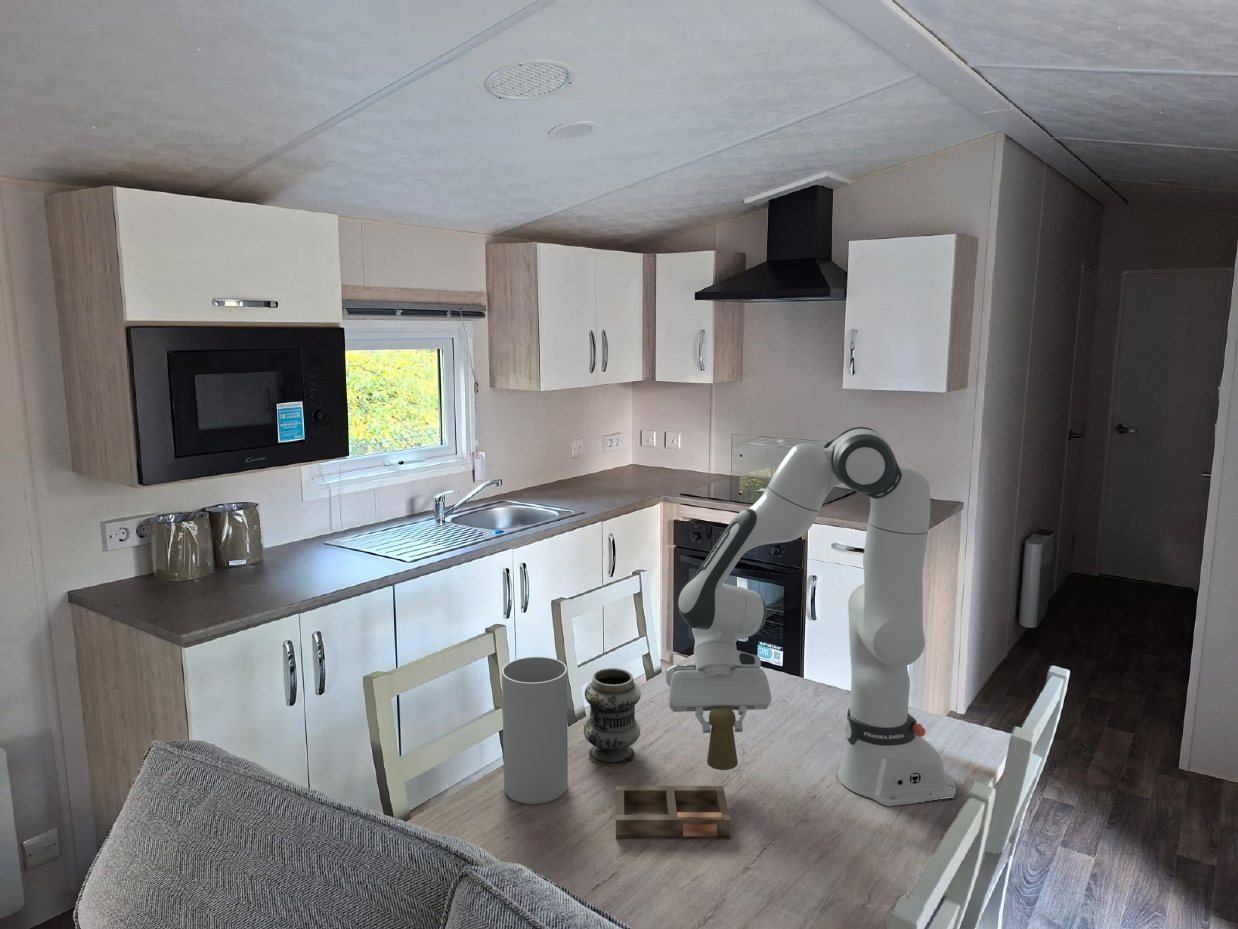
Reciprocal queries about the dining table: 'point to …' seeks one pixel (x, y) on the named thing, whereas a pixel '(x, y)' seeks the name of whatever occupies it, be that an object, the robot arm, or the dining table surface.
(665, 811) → the spice rack
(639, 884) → the dining table surface
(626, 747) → the apothecary jar
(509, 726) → the cylinder vase
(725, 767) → the olive round-topped post
